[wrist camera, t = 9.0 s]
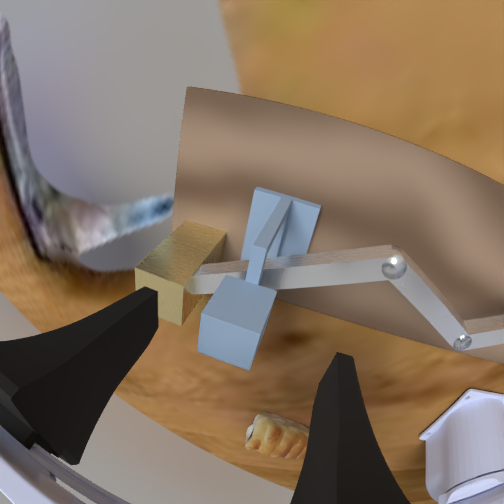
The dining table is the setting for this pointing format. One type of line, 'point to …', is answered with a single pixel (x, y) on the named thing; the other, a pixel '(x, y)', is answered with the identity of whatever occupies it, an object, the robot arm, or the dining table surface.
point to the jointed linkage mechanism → (300, 280)
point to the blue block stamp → (255, 277)
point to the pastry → (277, 437)
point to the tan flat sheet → (347, 206)
